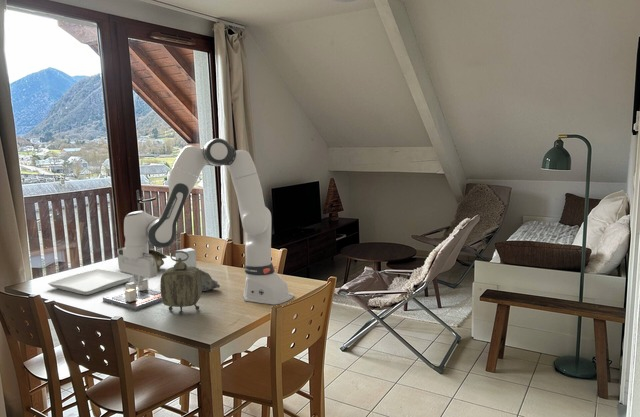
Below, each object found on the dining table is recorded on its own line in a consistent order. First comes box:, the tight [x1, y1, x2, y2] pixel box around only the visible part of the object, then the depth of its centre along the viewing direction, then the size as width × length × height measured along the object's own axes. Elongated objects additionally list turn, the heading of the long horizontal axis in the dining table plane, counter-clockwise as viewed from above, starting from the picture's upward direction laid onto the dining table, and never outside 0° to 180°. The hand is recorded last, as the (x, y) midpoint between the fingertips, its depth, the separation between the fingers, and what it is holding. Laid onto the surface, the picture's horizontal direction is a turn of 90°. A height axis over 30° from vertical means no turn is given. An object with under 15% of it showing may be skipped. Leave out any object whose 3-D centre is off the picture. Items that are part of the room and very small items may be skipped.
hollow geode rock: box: [116, 246, 168, 273], centre depth 253 cm, size 28×13×15 cm
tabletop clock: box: [159, 250, 203, 316], centre depth 189 cm, size 14×9×25 cm, turn 92°
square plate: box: [47, 268, 133, 296], centre depth 228 cm, size 27×27×4 cm
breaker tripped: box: [124, 289, 136, 302], centre depth 200 cm, size 3×3×4 cm
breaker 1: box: [124, 281, 137, 290], centre depth 209 cm, size 3×3×4 cm
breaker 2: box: [137, 278, 149, 291], centre depth 214 cm, size 3×3×4 cm
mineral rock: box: [199, 269, 221, 292], centre depth 218 cm, size 13×11×10 cm
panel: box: [102, 286, 163, 312], centre depth 207 cm, size 22×18×2 cm
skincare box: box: [174, 247, 197, 268], centre depth 236 cm, size 8×6×15 cm
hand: (138, 284), depth 195 cm, fingers closed
